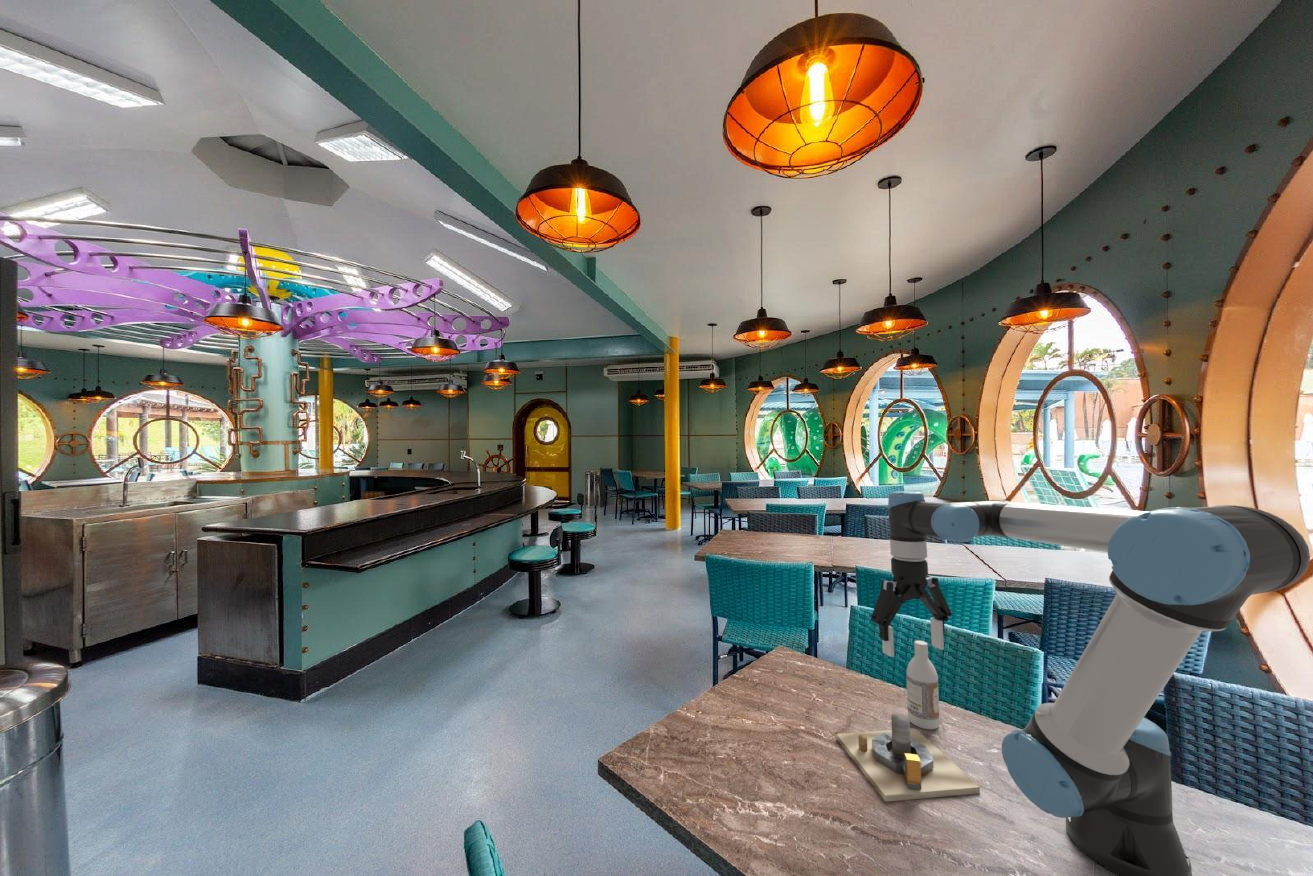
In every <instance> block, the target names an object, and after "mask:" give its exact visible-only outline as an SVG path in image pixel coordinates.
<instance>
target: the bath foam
mask: <svg viewBox="0 0 1313 876" xmlns="http://www.w3.org/2000/svg"><path fill="white" fill-rule="evenodd" d="M939 696H940V695H939V675H938V673H937V670H936V668H935V666H934V664H933V662H932V661H931V660H930V659H929V649H928V643H927V642H926V641H924V640H915V641H914V656H913V657H912V658H911V659H910V661H909V663H908V665H907V667H906V698H907V699H906V701H907V702H906V704H907V705H906V706H907V717H909V719H910V724H912V725H914V726H916V727H918V728H920V729H925V730H936V729H938V728H939V727H940V701H939V700H940V698H939Z"/></svg>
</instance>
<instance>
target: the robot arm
mask: <svg viewBox="0 0 1313 876" xmlns="http://www.w3.org/2000/svg"><path fill="white" fill-rule="evenodd" d="M887 500H888V502H887V503H888V505H887V506H888V507H887V511H888V526H889V544H890V545H889V546H890V549H889V550H890V555H891V556H892V558H890V568H891V569H890V570H891V573H892V576H893V580H892V581H891V580H890V581H889V580H886V579H882V580H881V582H880V583H881V584H880V592H879V594H878V597H877V600H876V603H875V606H874V608H873V611H872V613H871V617H870V621H871V622H873V623H874V624H876V625H878V628H879V631H878V632H879V639H880V640H881V643H882V647H881V648H882V653H883V654H885V655H886V656H888V657H890V658H894V657H895V647H894V646H895V645H894V643H895V642H894V627H893V626H891V624H892V622H893V620H894V618H895V617H896V616H897V614H898V612H899V610H900V609H901V607H902V606H903V604H905V603H906V602H907V601H912V600H920V602H921V603H922V604H923V605H924V606H925V608H927V610H928V611H929V613H930V614H931V615H932V616H933V617H930V619H929V620H930V622H929V623H930V635H931V636H930V637H931V638H930V639H931V641H930V642H931V646H932V647H933V648H935V649H938V650H940V651H943V650H945V644H944V642H945V641H944V634H945V630H946V629H945V622H948V621H949V617H952V615H953V614H952V611H951V609H950V606H949V604H948V602H947V600H946V598H945V597H944V596H945V595H944V594H943V592H942V590H941V588H940V582H939V579H938V577H936V576H931V575H929V567H928V560H927V558H928V549H927V537H932V538H935V539H936V538H937V539H942V540H946V541H948V542H962V543H964V542H970V541H971V540H972V539H973V538H975V537H989V536H990V537H999V538H1004V539H1005V538H1006V539H1007V538H1008V539H1015V540H1022V541H1028V542H1030V541H1031V542H1035V543H1036V542H1037V543H1042V544H1050V545H1055V546H1056V545H1057V546H1063V547H1071V548H1076V549H1085V550H1091V551H1098V552H1104V553H1107V558H1108V559H1109V560H1110V561H1111V564H1112V565H1111V569H1112V570H1111V572H1110V575H1109V577H1108V580H1109V581H1108V582H1109V583H1110V584H1111V586H1112V588H1113V589H1114V591H1115V592H1116V594H1115V596H1114V598H1113V600H1112V601H1111V604H1110V605H1109V607H1108V608H1107V610H1106V612H1105V614H1104V615H1103V617H1102V619H1101V621H1100V622H1099V624H1098V626H1097V628H1096V630H1095V631H1094V632H1093V635H1092V637H1091V638H1090V640H1089V642H1088V644H1087V645H1086V647H1085V648H1084V650H1083V652H1082V654H1081V656H1080V657H1079V659H1078V661H1077V662H1076V664H1075V665H1074V668H1073V669H1072V672H1071V673H1070V675H1069V676H1068V678H1067V680H1066V682H1065V684H1064V685H1063V687H1062V689H1061V690H1060V693H1059V694H1058V697H1057V698H1056V699H1055V701H1054V702H1046V703H1042V704H1039V706H1038V707H1037V708H1036V709H1035V711H1034V712H1033V713H1032V716H1031V718H1030V719H1029V721H1028V723H1027V725H1026V726H1025V727H1024V728H1023V729H1021V730H1018V729H1015V730H1013V731H1012V730H1011V732H1010V733H1009V732H1008V733H1007V734H1006V735H1005V736H1004V737H1003V740H1002V741H1001V755H1002V759H1003V762H1004V764H1005V766H1006V767H1007V768H1006V769H1007V771H1008V773H1009V776H1010V777H1011V779H1012V780H1013V782H1014V783H1015V785H1016V786H1017V788H1018V789H1019V790H1020V792H1021V793H1022V794H1023V795H1024V796H1025V797H1026V798H1027V799H1028V800H1029V801H1030V802H1031V803H1032V804H1033V805H1035V807H1038V808H1039V809H1040V810H1041V811H1043V812H1044V813H1046V814H1050V815H1051V816H1054V817H1057V818H1062V819H1063V818H1064V819H1065V829H1066V833H1067V834H1068V836H1069V839H1070V840H1071V841H1072V842H1073V843H1074V844H1075V846H1076V847H1078V849H1079V848H1080V849H1079V850H1081V852H1083V853H1084V855H1086V856H1087V855H1088V856H1087V857H1088V858H1090V859H1091V858H1092V859H1091V860H1093V861H1094V862H1095V861H1096V863H1097V862H1098V863H1099V865H1100V866H1101V865H1103V866H1104V868H1105V869H1106V868H1107V869H1106V870H1108V871H1110V872H1111V873H1113V874H1115V875H1117V876H1119V875H1120V876H1193V873H1192V863H1191V860H1190V858H1189V855H1188V854H1187V851H1186V850H1185V849H1184V847H1183V844H1182V842H1181V839H1180V836H1179V833H1178V830H1177V828H1176V825H1175V824H1174V817H1173V793H1172V791H1173V789H1172V788H1173V787H1172V767H1171V763H1172V762H1171V756H1172V752H1171V751H1170V744H1169V739H1168V737H1169V736H1168V735H1167V733H1166V732H1165V731H1164V729H1162V728H1161V727H1160V726H1159V725H1157V724H1156V723H1155V722H1153V721H1151V720H1150V719H1148V718H1146V717H1145V716H1146V715H1147V713H1148V711H1150V709H1151V708H1152V705H1154V703H1155V701H1156V700H1157V698H1158V697H1159V695H1160V694H1161V693H1162V692H1163V690H1164V688H1165V687H1166V686H1167V684H1168V682H1169V681H1170V679H1171V677H1172V676H1173V675H1174V674H1175V672H1176V671H1177V669H1178V667H1179V666H1180V665H1181V663H1182V661H1184V658H1185V657H1186V655H1188V652H1189V651H1190V650H1191V648H1192V647H1193V645H1194V644H1195V642H1196V641H1197V639H1198V637H1199V636H1200V635H1201V633H1202V632H1203V633H1204V632H1221V631H1225V630H1226V629H1227V628H1228V627H1229V625H1230V624H1231V623H1232V621H1233V620H1234V618H1235V617H1236V616H1237V614H1238V612H1240V610H1241V609H1242V608H1243V606H1244V604H1245V602H1246V601H1247V600H1248V598H1250V597H1251V596H1252V595H1253V596H1254V595H1259V594H1264V593H1265V594H1266V593H1270V592H1271V593H1272V592H1276V591H1279V590H1281V589H1285V588H1288V587H1289V586H1291V585H1293V584H1294V583H1297V582H1298V581H1299V580H1300V579H1301V578H1302V577H1303V576H1304V575H1305V574H1306V572H1307V570H1308V568H1309V567H1310V561H1311V553H1310V548H1309V545H1308V544H1307V542H1306V539H1304V536H1303V535H1302V534H1301V533H1300V532H1299V531H1298V530H1297V529H1296V528H1295V527H1294V526H1293V525H1292V524H1290V523H1289V522H1287V521H1286V520H1285V519H1283V518H1281V517H1279V516H1277V515H1275V514H1273V513H1271V512H1268V511H1264V510H1262V509H1258V508H1256V507H1255V508H1254V507H1250V506H1244V505H1235V504H1233V505H1232V504H1231V505H1229V504H1225V505H1214V506H1212V505H1211V506H1201V507H1188V506H1187V507H1183V506H1174V507H1164V508H1163V507H1162V508H1158V509H1153V510H1151V511H1147V510H1145V511H1144V510H1130V509H1115V508H1100V507H1087V506H1086V507H1085V506H1073V505H1071V506H1069V505H1057V504H1055V505H1054V504H1043V503H1026V502H1012V501H1009V500H1002V499H990V500H983V501H982V500H981V501H963V502H962V501H961V502H960V501H959V502H929V501H926V500H925V495H924V493H922V492H921V491H916V490H915V491H913V490H907V491H906V490H901V491H898V490H895V491H892V492H890V493H889V494H888V499H887ZM927 589H928V590H927ZM929 593H930V594H929ZM1098 863H1097V864H1098ZM1103 866H1102V867H1103Z"/></svg>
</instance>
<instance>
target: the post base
mask: <svg viewBox="0 0 1313 876" xmlns="http://www.w3.org/2000/svg"><path fill="white" fill-rule="evenodd" d="M883 733H888V734H892V748H891V749H889V750H888V751H889V752H891V753H892V754H894V755H896V756H897V757H900V758H905V753H908V754H912V753H911V742H910V738H911V739H913V740H915V741H917V742H919V743H921V744H922V745H924V746H926V747H927V749H928V751H929V753H930V755H931V757H932V759H933V766H934V768H933V769H931V770H929V771H928V772H926V773H925V774H923V775H922V776H921V790H919V789H912V788H908V786H907V784H906V781H905V779H904V776H903V773H898V772H895V771H894V770H892V769H890V768H889V767H887V766H886V765H884V764H882V763H881V762H879V761H878V760H876V757H875V754H874V751H873V748H872V739H874V738H876V737H878V736H880V735H882V734H883ZM836 740H837V742H838V743H839V744H840V746H841V747H842V748H843V750H844V751H846V753H847V754H848V755H849V758H851V759H852V761H853V762H854V764H856V766H857V767H858V768H859V770H860V771H861V772H862V774H864V776H865V777H866V778H867V780H868V782H869V783H870V784H871V785H872V786H873V788H874V789H875V791H876V792H877V793H878V794H879V796H881V798H882V799H883V801H884V802H887V803H888V802H897V801H898V802H899V801H907V800H916V799H917V800H918V799H919V800H921V799H926V798H927V799H929V798H932V799H933V798H940V797H941V798H942V797H952V796H953V797H954V796H963V795H975V794H981V790H980V789H981V787H980V786H979V785H978V784H977V783H976V782H974V780H973V779H972V778H970V776H968V775H967V774H966V773H965V772H964V771H963V770H962V769H961V768H959V767H958V766H957V765H956V764H955V763H954V762H953V761H951V760H950V758H948V756H946V755H945V754H944V753H943V752H942V751H941V750H940V749H938V747H936V746H935V745H934V744H933V743H932V742H931V741H930V740H929V739H927V738H926V736H924V735H923V734H922V733H921V732H920V731H919V730H918V729H916V727H915V728H911V722H910V719H909V717H908V715H905V714H903V713H900V712H893V713H892V714H891V729H887V730H873V731H864V732H863V731H861V732H860V731H858V732H847V733H845V732H844V733H836Z"/></svg>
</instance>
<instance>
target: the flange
mask: <svg viewBox="0 0 1313 876" xmlns="http://www.w3.org/2000/svg"><path fill="white" fill-rule="evenodd" d="M910 742H911V753H912V754H908V753H905V758H900V757H897V756H896V755H894V754H892V753H891V752H889V751H888V750H889V749H891V748H892V734H888V733H883V734H882V735H880V736H878V737H876V738H874V739H872V748H873V751H874V754H875V757H876V760H878V761H879V762H881V763H882V764H884V765H886V766H887V767H889V768H890V769H892V770H894V771H895V772H898V773H903V776H904V779H905V781H906V784H907V786H908V788H912V789H919V790H921V776H922V775H923V774H925V773H926V772H928V771H929V770H931V769H933V768H934V766H933V759H932V757H931V755H930V753H929V751H928V749H927V747H926V746H924V745H922V744H921V743H919V742H917V741H915V740H913V739H911V738H910Z"/></svg>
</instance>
